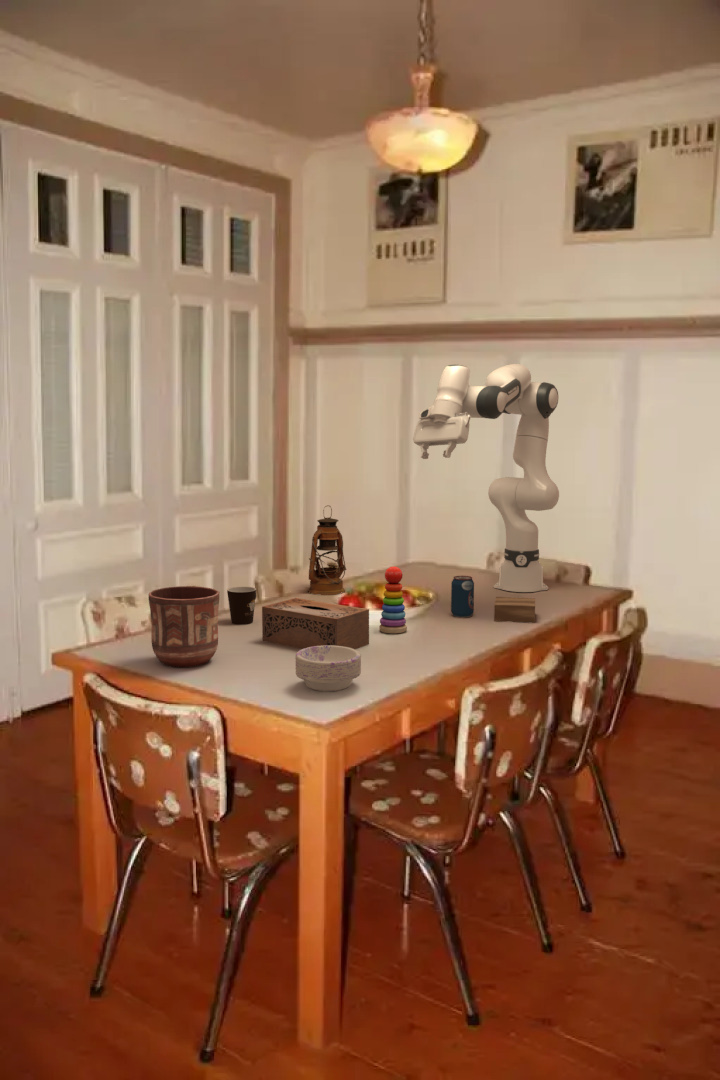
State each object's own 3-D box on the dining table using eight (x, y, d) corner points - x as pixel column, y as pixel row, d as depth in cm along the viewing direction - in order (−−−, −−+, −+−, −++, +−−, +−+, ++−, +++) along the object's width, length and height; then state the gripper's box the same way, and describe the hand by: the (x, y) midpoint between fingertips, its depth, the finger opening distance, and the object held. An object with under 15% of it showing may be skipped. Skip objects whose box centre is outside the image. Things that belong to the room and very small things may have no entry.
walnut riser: (495, 612, 305) (496, 596, 304) (534, 614, 303) (535, 598, 302) (494, 621, 293) (494, 604, 292) (534, 622, 291) (535, 606, 290)
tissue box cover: (262, 642, 269) (262, 606, 268) (295, 632, 281) (295, 597, 279) (337, 656, 254) (336, 619, 253) (369, 645, 266) (369, 609, 264)
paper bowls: (346, 699, 218) (346, 664, 216) (284, 691, 223) (284, 657, 222) (370, 680, 232) (370, 648, 230) (312, 674, 237) (311, 642, 236)
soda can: (474, 618, 297) (475, 579, 296) (452, 618, 297) (452, 579, 296) (472, 613, 304) (472, 575, 302) (449, 613, 304) (450, 575, 302)
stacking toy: (411, 633, 278) (412, 568, 276) (385, 635, 275) (386, 570, 273) (400, 626, 286) (400, 563, 283) (375, 629, 283) (375, 565, 280)
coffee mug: (237, 626, 285) (237, 593, 284) (222, 621, 292) (221, 589, 291) (270, 621, 293) (270, 588, 291) (254, 616, 299) (254, 584, 298)
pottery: (152, 673, 237) (151, 601, 235) (147, 655, 254) (145, 587, 251) (225, 668, 242) (224, 597, 240) (215, 651, 259) (214, 584, 256)
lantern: (330, 585, 349) (330, 502, 344) (356, 590, 340) (356, 504, 335) (295, 592, 336) (294, 505, 332) (322, 597, 328) (321, 508, 323)
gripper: (478, 416, 288) (467, 460, 286) (429, 421, 304) (419, 462, 301) (464, 407, 284) (453, 452, 282) (415, 413, 300) (404, 455, 297)
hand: (435, 457), depth 292 cm, fingers open, 8 cm apart
